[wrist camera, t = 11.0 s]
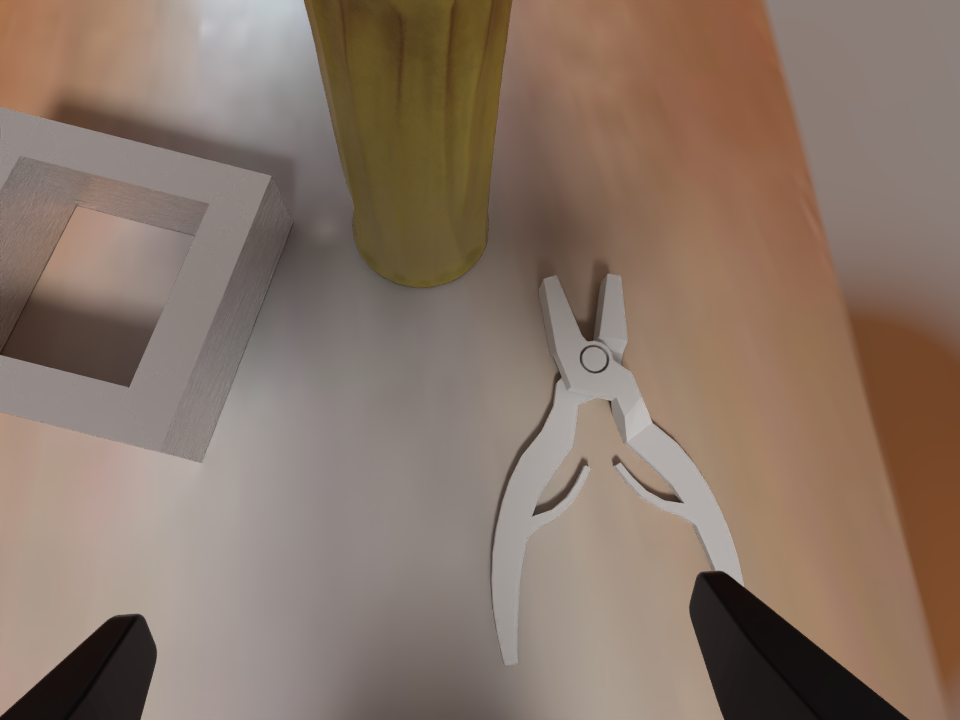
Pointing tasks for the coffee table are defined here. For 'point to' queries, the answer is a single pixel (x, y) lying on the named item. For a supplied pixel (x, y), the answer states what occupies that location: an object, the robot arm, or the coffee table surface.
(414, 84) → the vase
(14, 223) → the socket block
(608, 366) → the pliers
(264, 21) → the coffee table surface
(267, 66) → the coffee table surface
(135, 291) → the coffee table surface
